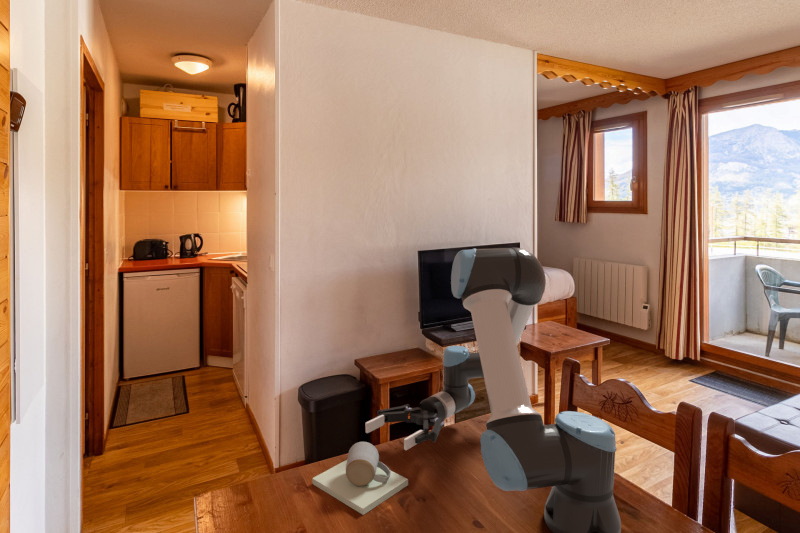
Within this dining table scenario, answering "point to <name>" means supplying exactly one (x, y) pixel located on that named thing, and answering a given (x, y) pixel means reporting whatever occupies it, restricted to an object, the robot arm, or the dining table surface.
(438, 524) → the dining table surface
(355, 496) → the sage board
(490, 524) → the dining table surface
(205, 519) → the dining table surface
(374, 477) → the ceramic mug
